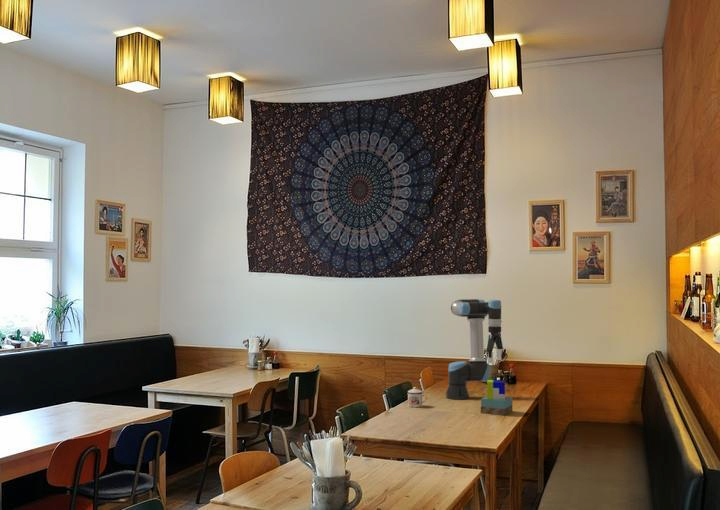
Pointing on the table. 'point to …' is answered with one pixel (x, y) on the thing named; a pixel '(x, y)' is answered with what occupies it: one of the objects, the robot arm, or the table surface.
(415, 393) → the teacup with lid
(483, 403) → the top block
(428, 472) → the table surface
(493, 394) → the puzzle toy
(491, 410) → the base block
